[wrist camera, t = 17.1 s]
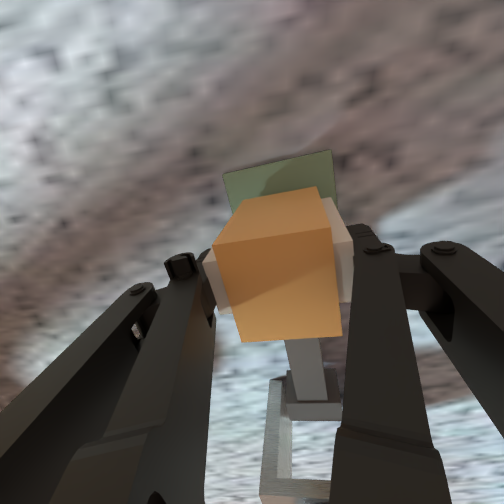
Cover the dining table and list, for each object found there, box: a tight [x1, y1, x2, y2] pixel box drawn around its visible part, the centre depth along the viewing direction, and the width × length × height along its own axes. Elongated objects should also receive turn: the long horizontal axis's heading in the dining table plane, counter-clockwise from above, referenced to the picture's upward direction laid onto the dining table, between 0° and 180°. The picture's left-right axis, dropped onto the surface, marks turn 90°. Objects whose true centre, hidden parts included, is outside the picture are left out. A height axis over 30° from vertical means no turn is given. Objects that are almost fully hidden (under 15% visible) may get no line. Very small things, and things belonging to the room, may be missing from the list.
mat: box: [222, 149, 338, 214], centre depth 18 cm, size 7×7×1 cm
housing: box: [259, 380, 331, 504], centre depth 21 cm, size 9×6×11 cm
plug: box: [212, 186, 343, 421], centre depth 16 cm, size 4×17×7 cm, turn 13°
